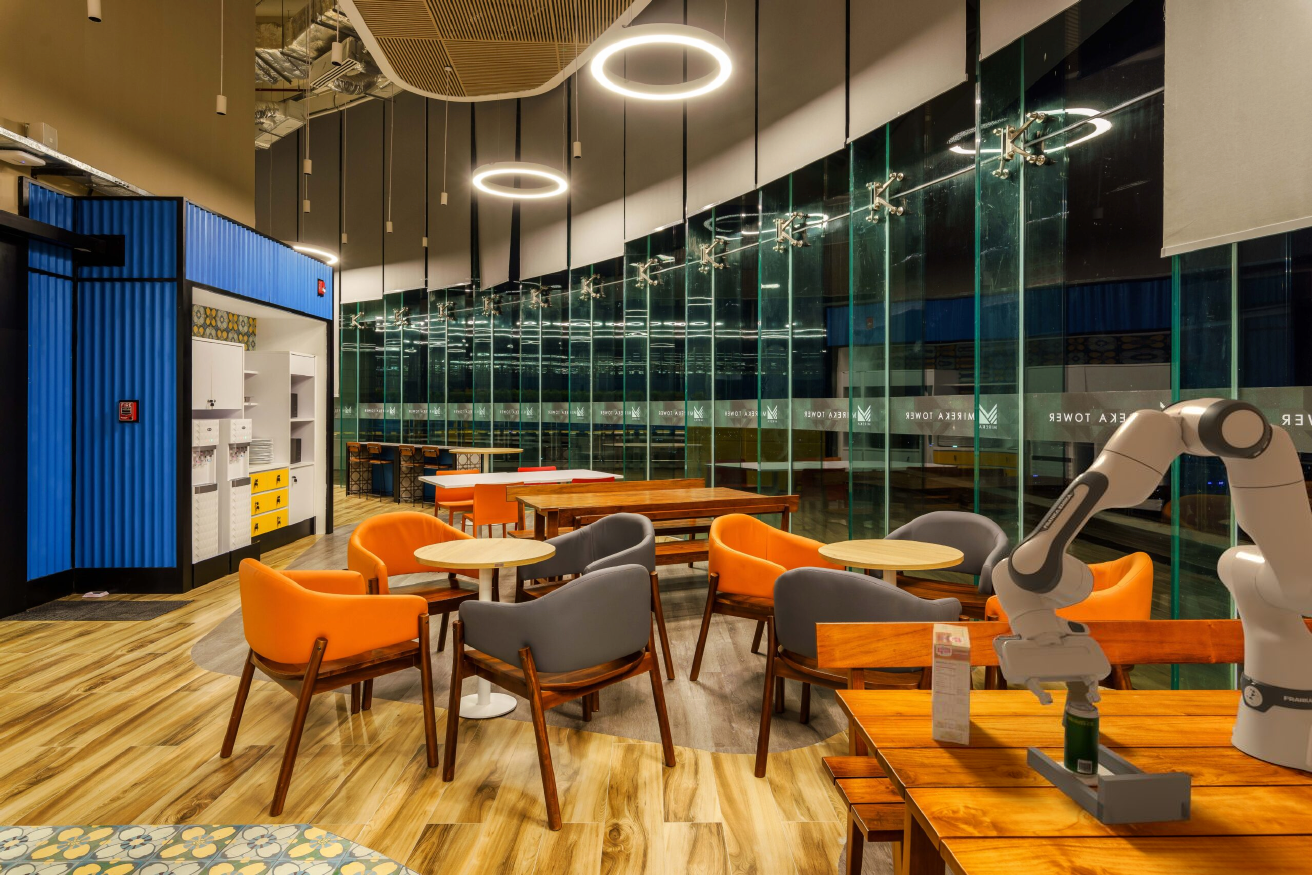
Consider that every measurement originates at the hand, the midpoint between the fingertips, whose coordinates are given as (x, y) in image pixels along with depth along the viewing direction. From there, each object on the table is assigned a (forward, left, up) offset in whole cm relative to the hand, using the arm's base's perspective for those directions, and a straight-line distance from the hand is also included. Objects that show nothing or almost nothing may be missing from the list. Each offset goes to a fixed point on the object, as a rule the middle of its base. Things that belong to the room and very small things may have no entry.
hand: (1071, 702), depth 133 cm
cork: (-13, -16, -12) cm, 23 cm away
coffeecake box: (+14, -18, -12) cm, 25 cm away
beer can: (0, +3, -12) cm, 12 cm away
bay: (0, +8, -12) cm, 14 cm away
